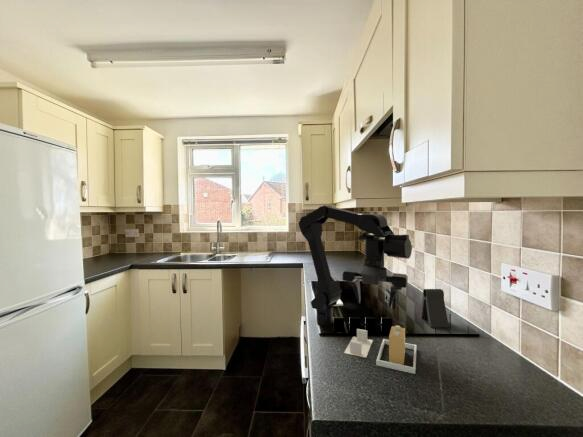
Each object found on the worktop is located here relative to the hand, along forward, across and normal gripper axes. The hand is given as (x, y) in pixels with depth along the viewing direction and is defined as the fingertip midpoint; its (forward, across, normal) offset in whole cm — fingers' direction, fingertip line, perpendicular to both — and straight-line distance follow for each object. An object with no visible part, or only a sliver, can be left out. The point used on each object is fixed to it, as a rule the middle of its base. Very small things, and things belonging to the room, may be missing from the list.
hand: (374, 305), depth 84 cm
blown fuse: (+10, +8, -9) cm, 16 cm away
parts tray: (+11, +8, -9) cm, 16 cm away
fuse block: (+11, -3, -8) cm, 14 cm away
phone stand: (+11, +17, +22) cm, 30 cm away
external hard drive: (+12, -25, +27) cm, 38 cm away
